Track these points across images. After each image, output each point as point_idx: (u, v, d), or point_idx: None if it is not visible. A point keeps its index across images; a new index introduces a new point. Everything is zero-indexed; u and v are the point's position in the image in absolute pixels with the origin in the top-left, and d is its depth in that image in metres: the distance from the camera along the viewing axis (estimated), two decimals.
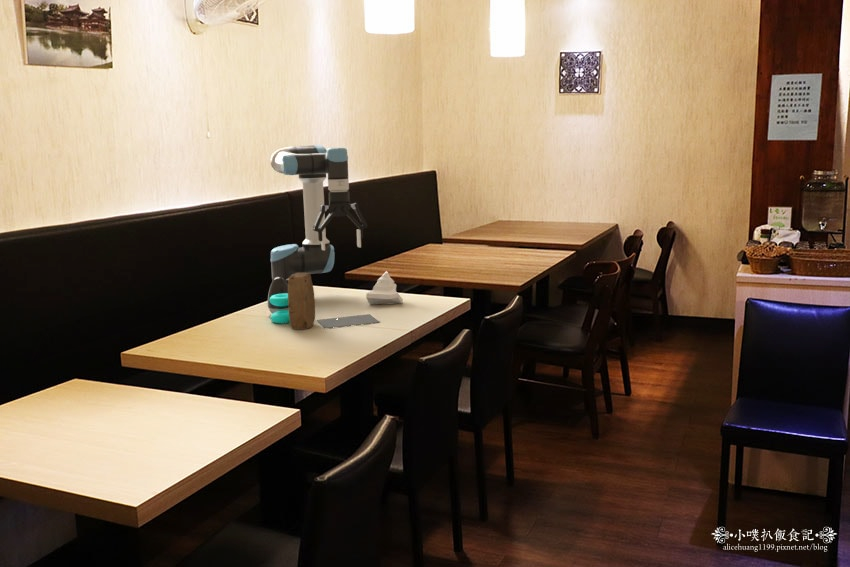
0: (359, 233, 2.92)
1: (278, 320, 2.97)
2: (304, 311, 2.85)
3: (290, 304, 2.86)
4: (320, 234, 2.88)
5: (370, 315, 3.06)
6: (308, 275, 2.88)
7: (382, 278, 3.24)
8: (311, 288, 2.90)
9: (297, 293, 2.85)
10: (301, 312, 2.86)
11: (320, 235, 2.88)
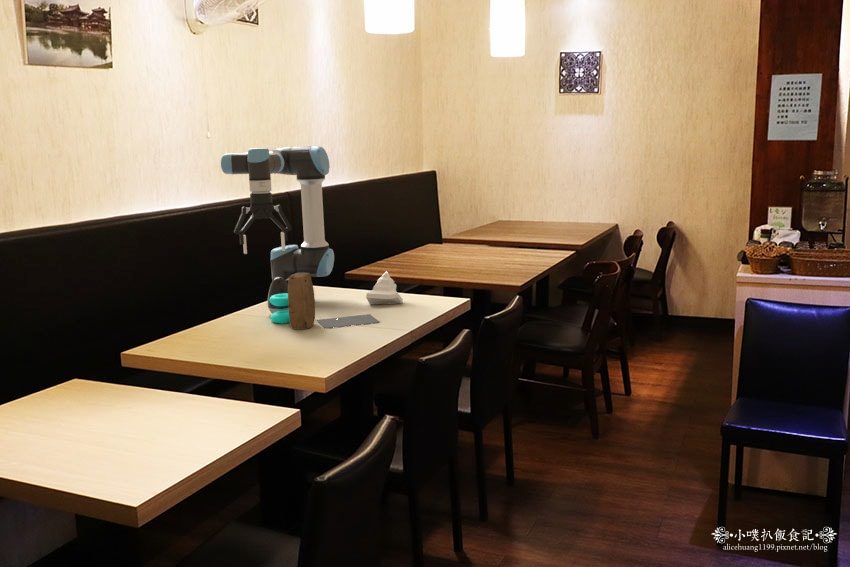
0: (283, 236, 2.83)
1: (278, 320, 2.97)
2: (304, 311, 2.85)
3: (290, 304, 2.86)
4: (241, 237, 2.78)
5: (370, 315, 3.06)
6: (308, 275, 2.88)
7: (382, 278, 3.24)
8: (311, 288, 2.90)
9: (297, 293, 2.85)
10: (301, 312, 2.86)
11: (241, 238, 2.78)
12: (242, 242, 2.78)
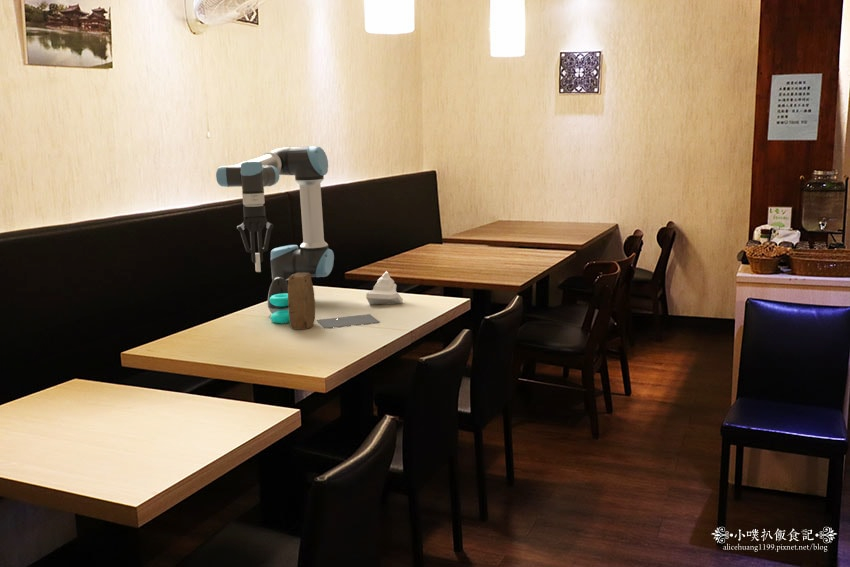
0: (258, 257, 2.81)
1: (278, 320, 2.97)
2: (304, 311, 2.85)
3: (290, 304, 2.86)
4: (253, 255, 2.81)
5: (370, 315, 3.06)
6: (308, 275, 2.88)
7: (382, 278, 3.24)
8: (311, 288, 2.90)
9: (297, 293, 2.85)
10: (301, 312, 2.86)
11: (253, 256, 2.81)
12: (254, 260, 2.81)
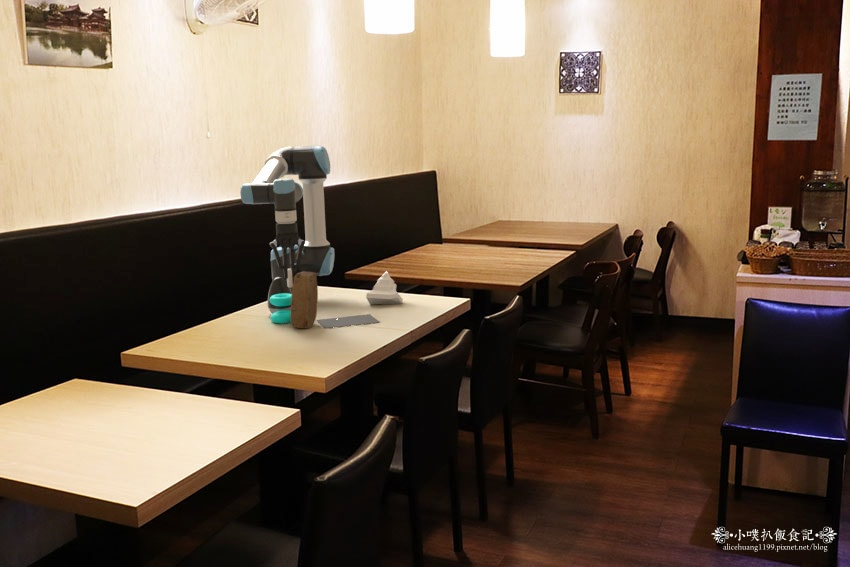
0: (290, 273, 2.86)
1: (278, 320, 2.97)
2: (306, 310, 2.85)
3: (293, 302, 2.86)
4: (285, 271, 2.86)
5: (370, 315, 3.06)
6: (314, 275, 2.87)
7: (382, 278, 3.24)
8: (315, 288, 2.90)
9: (301, 292, 2.84)
10: (303, 312, 2.85)
11: (285, 272, 2.86)
12: (286, 276, 2.86)
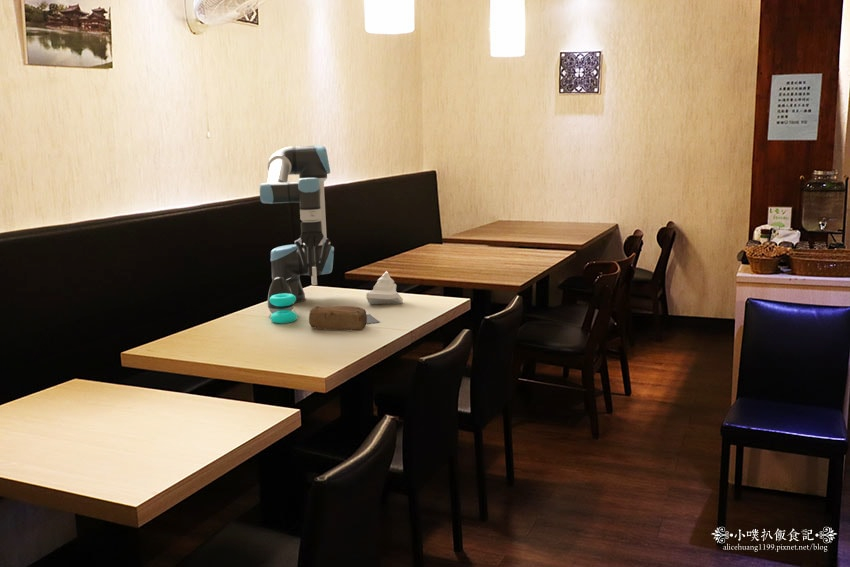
0: (315, 271, 2.89)
1: (278, 320, 2.97)
2: (327, 328, 2.85)
3: (333, 315, 2.83)
4: (310, 269, 2.89)
5: (370, 315, 3.06)
6: None
7: (382, 278, 3.24)
8: None
9: (344, 323, 2.83)
10: (325, 325, 2.84)
11: (310, 270, 2.89)
12: (310, 274, 2.89)
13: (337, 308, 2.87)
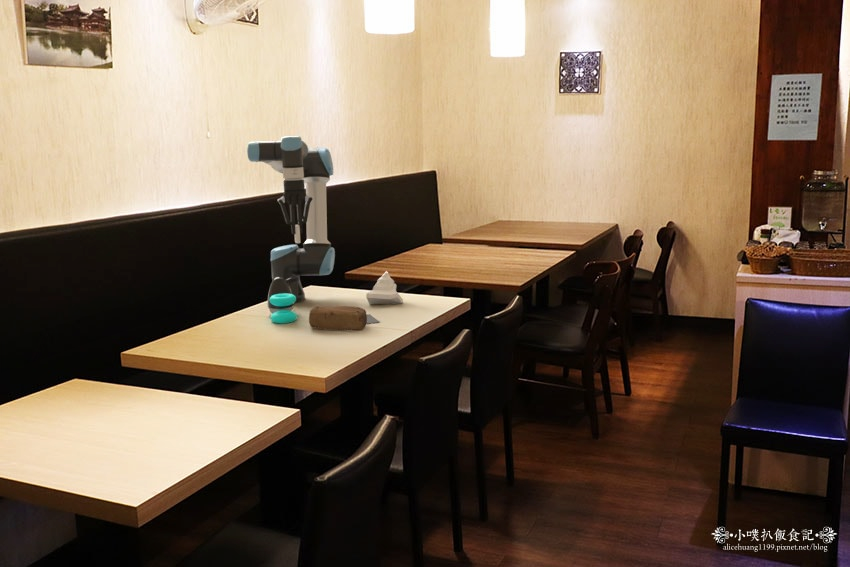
0: (298, 229, 2.92)
1: (278, 320, 2.97)
2: (327, 328, 2.85)
3: (333, 315, 2.83)
4: (293, 227, 2.92)
5: (370, 315, 3.06)
6: None
7: (382, 278, 3.24)
8: None
9: (344, 323, 2.83)
10: (325, 325, 2.84)
11: (293, 228, 2.92)
12: (294, 232, 2.93)
13: (337, 308, 2.87)
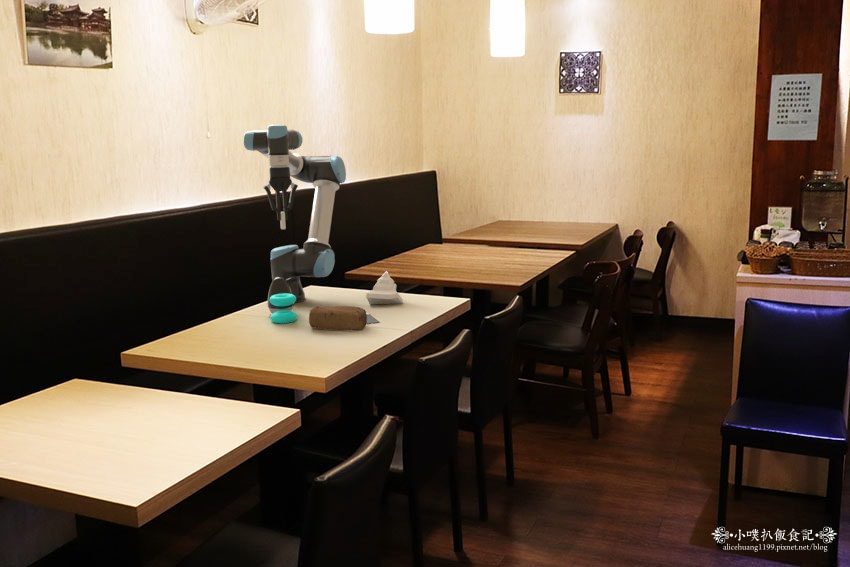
0: (283, 215, 3.00)
1: (278, 320, 2.97)
2: (327, 328, 2.85)
3: (333, 315, 2.83)
4: (279, 213, 3.00)
5: (370, 315, 3.06)
6: None
7: (382, 278, 3.24)
8: None
9: (344, 323, 2.83)
10: (325, 325, 2.84)
11: (279, 214, 3.00)
12: (279, 218, 3.01)
13: (337, 308, 2.87)
